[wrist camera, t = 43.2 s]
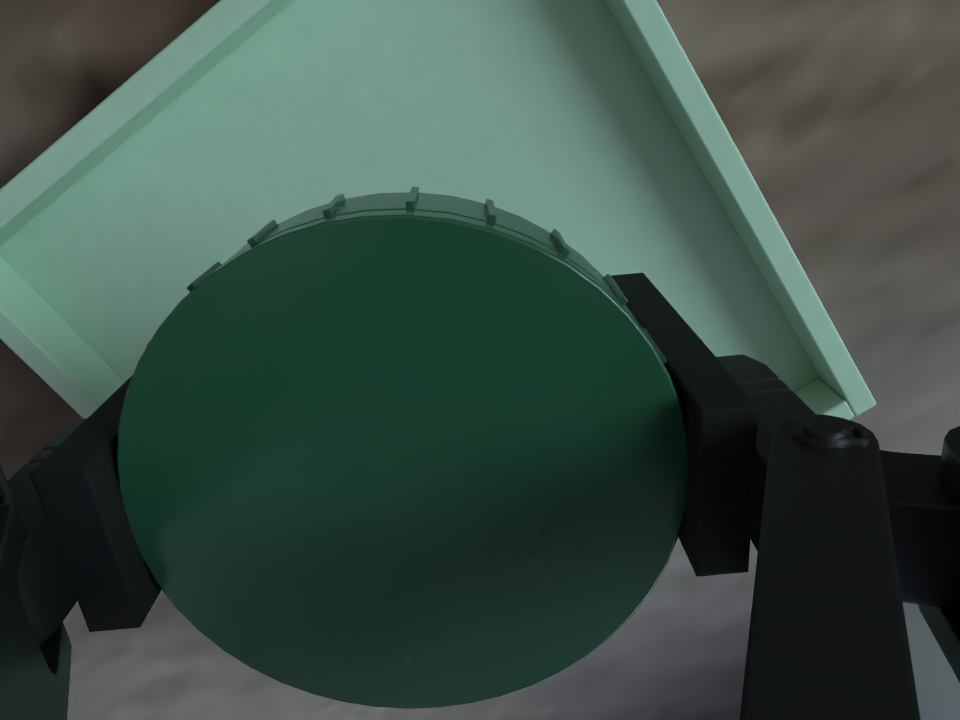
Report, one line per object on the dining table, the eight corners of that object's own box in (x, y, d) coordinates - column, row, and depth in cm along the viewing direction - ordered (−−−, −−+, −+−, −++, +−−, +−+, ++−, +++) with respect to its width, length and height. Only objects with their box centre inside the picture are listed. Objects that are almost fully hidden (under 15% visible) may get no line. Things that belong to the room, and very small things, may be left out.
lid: (664, 160, 11) (701, 179, 9) (662, 613, 14) (689, 689, 12) (96, 216, 11) (29, 245, 9) (224, 652, 14) (192, 732, 12)
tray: (378, 642, 23) (370, 695, 21) (-26, 238, 18) (-84, 259, 16) (837, 372, 20) (878, 405, 18) (509, -215, 15) (516, -256, 13)
